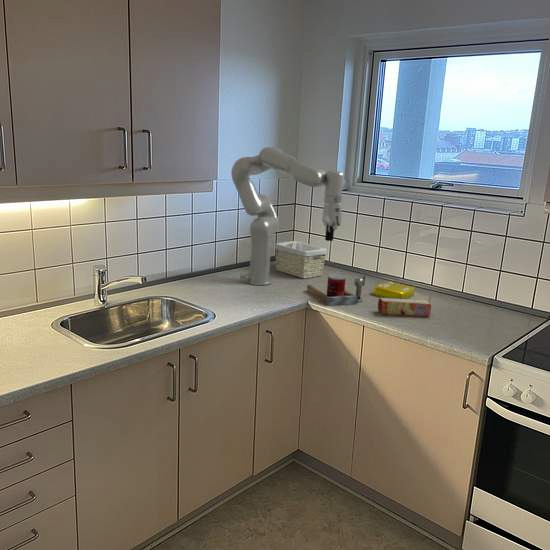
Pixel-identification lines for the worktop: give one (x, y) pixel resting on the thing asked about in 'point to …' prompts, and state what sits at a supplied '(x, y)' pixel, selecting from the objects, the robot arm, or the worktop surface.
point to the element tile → (394, 290)
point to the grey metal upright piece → (359, 287)
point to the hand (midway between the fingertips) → (329, 240)
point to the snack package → (404, 307)
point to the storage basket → (300, 259)
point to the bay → (331, 301)
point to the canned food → (336, 285)
